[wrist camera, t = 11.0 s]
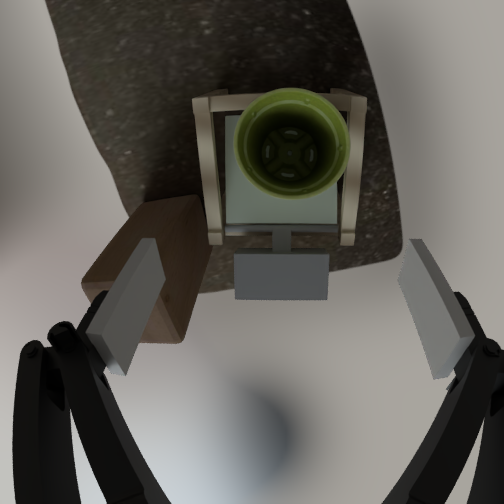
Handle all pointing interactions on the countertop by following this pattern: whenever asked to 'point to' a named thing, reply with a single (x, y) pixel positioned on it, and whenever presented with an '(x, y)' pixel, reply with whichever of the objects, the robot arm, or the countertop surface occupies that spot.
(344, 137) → the plant pot
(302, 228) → the trapdoor
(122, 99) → the countertop surface
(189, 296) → the wooden block
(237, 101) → the frame
